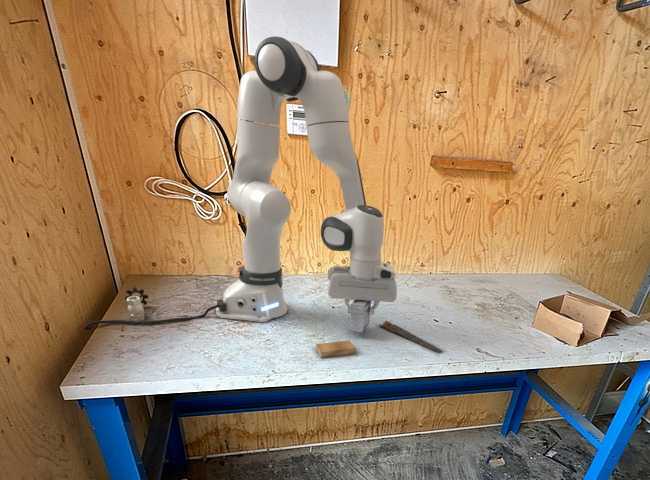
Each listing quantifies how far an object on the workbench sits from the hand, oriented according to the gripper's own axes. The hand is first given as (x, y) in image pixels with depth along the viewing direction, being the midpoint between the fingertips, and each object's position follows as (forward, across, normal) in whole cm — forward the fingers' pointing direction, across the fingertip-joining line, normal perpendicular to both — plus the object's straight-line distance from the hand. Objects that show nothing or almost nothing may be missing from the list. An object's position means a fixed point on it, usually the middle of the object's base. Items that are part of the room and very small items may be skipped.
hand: (360, 313), depth 132 cm
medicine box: (+5, 0, 0) cm, 5 cm away
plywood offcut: (+7, -7, -13) cm, 16 cm away
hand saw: (+6, +15, -2) cm, 17 cm away
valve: (+8, -68, +7) cm, 69 cm away
